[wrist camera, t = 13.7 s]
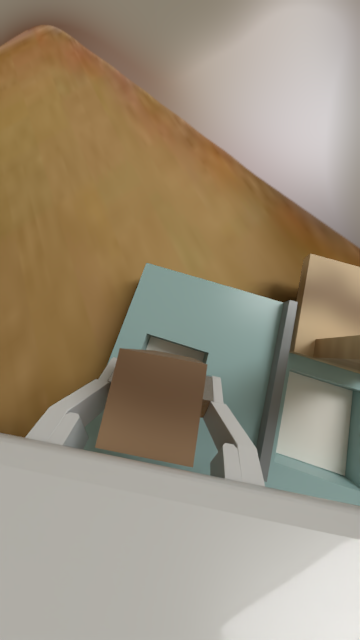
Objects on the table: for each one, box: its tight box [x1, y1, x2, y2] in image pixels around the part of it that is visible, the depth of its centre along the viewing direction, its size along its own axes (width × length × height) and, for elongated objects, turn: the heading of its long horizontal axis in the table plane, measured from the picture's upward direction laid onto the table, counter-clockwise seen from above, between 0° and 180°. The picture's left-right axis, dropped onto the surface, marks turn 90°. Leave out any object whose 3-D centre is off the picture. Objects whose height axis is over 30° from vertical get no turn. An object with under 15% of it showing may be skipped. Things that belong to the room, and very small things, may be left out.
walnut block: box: [95, 348, 207, 467], centre depth 10 cm, size 4×4×9 cm
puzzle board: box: [83, 263, 360, 506], centre depth 14 cm, size 18×23×3 cm
